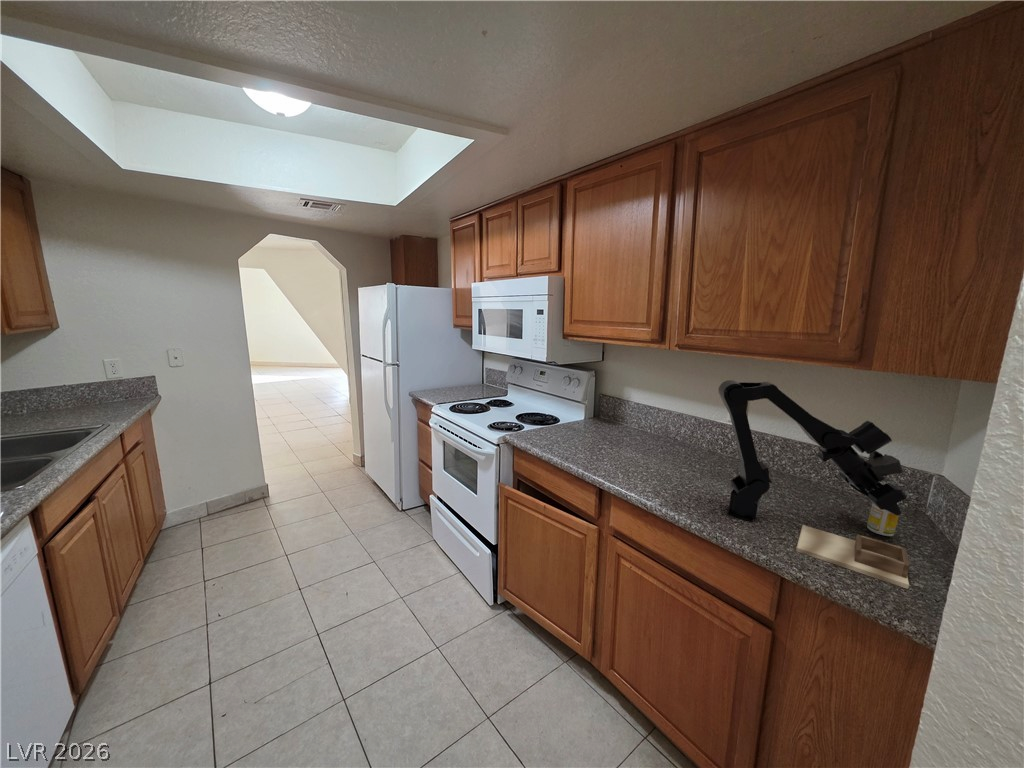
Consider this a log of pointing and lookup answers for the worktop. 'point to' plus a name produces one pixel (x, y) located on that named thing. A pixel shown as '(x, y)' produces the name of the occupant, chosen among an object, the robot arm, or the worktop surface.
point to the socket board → (857, 554)
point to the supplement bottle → (882, 521)
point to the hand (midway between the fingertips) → (892, 509)
